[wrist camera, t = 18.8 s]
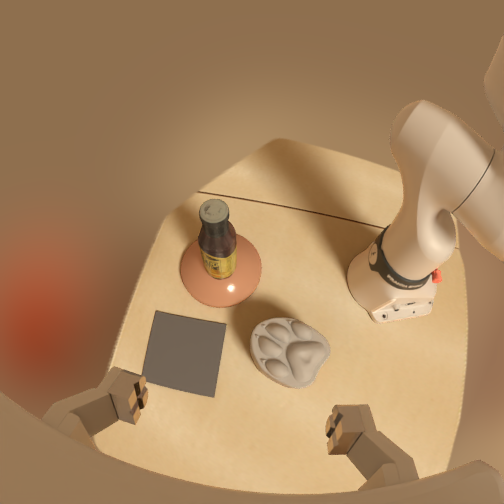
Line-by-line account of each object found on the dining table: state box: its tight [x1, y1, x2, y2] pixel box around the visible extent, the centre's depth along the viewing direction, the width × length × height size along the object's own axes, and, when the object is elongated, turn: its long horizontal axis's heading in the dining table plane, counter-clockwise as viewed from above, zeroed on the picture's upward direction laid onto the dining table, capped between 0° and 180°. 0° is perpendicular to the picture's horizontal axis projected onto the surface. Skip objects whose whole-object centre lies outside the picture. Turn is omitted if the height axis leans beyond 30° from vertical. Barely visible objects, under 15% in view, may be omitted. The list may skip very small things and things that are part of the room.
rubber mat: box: [142, 311, 226, 397], centre depth 47 cm, size 14×14×1 cm
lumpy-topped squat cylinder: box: [250, 317, 330, 389], centre depth 44 cm, size 10×13×9 cm
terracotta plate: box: [181, 234, 262, 308], centre depth 55 cm, size 16×16×1 cm
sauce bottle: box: [198, 199, 237, 280], centre depth 46 cm, size 7×6×20 cm
